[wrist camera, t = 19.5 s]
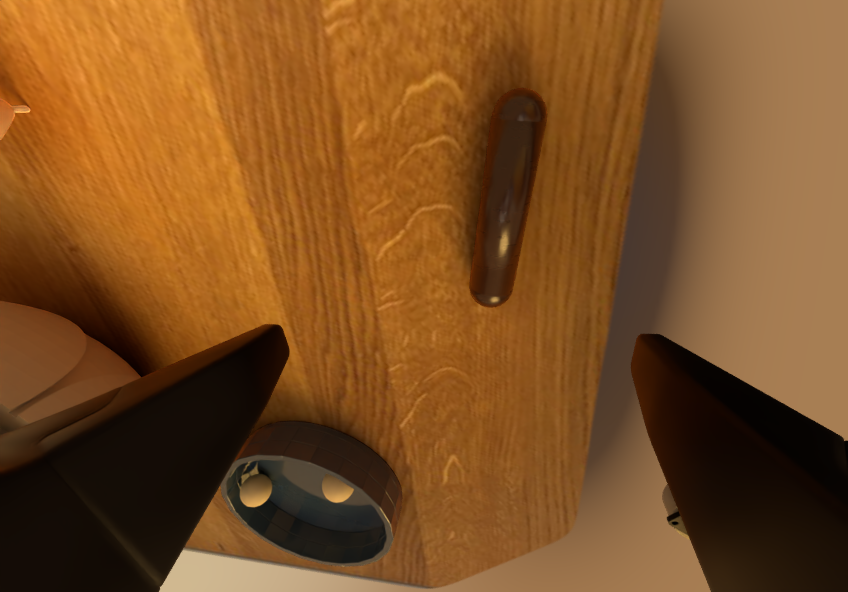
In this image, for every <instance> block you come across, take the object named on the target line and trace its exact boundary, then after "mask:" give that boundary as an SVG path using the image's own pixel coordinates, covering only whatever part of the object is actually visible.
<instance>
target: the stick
mask: <svg viewBox="0 0 848 592" xmlns="http://www.w3.org/2000/svg"><path fill="white" fill-rule="evenodd" d="M546 121H547V108H546V105H545V102H544V101H543V99H542V97H541V96H540V95H539V94H538V93H536V92H535V91H533V90H531V89H527V88H517V89H513V90H511V91H509V92H507V93H506V94H504V95H503V96H502V97H501V98H500V99H499V100H498V102H497V103H496V105H495V107H494V109H493V112H492V117H491V124H490V131H489V139H488V146H487V154H486V162H485V169H484V177H483V185H482V192H481V200H480V207H479V215H478V223H477V230H476V238H475V246H474V253H473V261H472V269H471V276H470V285H469V288H470V293H471V295H472V297H473V299H474V300H475V301H476V302H477V303H479V304H480V305H482V306H485V307H491V308H492V307H497V306H500V305H502V304H504V303H505V302H506V301H507V300H508V299H509V297H510V296H511V294H512V290H513V286H514V281H515V276H516V271H517V266H518V261H519V256H520V251H521V246H522V241H523V236H524V231H525V226H526V221H527V216H528V211H529V206H530V201H531V196H532V191H533V186H534V181H535V176H536V171H537V166H538V161H539V156H540V151H541V146H542V141H543V136H544V131H545V126H546Z"/></svg>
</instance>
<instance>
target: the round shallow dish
mask: <svg viewBox="0 0 848 592" xmlns="http://www.w3.org/2000/svg"><path fill="white" fill-rule="evenodd" d="M254 474H264V475H266V476H267V477H268V478H269V479H270V480H271V483H272V491H271V494H270V496H269V498H268V499H267V501H266V502H264V503H263V504H262V505H260V506H257V507H248V506H246V505H245V504H243V502H242V501H241V499H240V489H241V486H242V484H243V483H244V481H245V480H246V479H247V478H248V477H250V476H252V475H254ZM326 474H328V475H331V476H333V477H335V478H337V479H338V480H340V481H342V482H343V483H345V484H346V485H348V486H349V487H351V488H353V489H354V491H353V493H352V494H351V496H350V497H349V498H348V499H346V500H345V501H343V502H338V503H336V502H332V501H330V500H328V499H327V498H326V497H325V495H324V493H323V490H322V483H323V479H324V477H325V475H326ZM221 493H222V496H223V498H224V500H225V502H226V504H227V506H228V508H229V509H230V511H231V512H232V513H233V514H234V515H235V516H236V517H237V519H238V520H239V521H240V522H241V523H242V524H243V525H244V526H245V527H247V528H248V529H249V530H251V531H252V532H253V533H254V534H256V535H257V536H258V537H259V538H261V539H263V540H264V541H266V542H268V543H270V544H271V545H273V546H275V547H277V548H278V549H280V550H282V551H285V552H287V553H290V554H292V555H294V556H297V557H299V558H302V559H306V560H310V561H313V562H317V563H321V564H326V565H334V566H342V567H343V566H344V567H347V566H363V565H366V564H369V563H373V562H376V561H378V560H380V559H381V558H382V557H383V556H384V555H386V554H387V553H388V552H389V551H390V548H391V545H392V542H393V540H394V536H395V532H396V528H397V523H398V520H399V516H400V512H401V507H402V506H401V505H402V491H401V487H400V484H399V481H398V479H397V478H396V476H395V474H394V472H393V471H392V470H391V468H390V467H389V466H388V465H387V464H386V463H385V461H384V460H383V459H382V458H381V457H380V456H378V455H377V454H376V453H375V452H374V451H373V450H371V449H370V448H368V447H367V446H366V445H364V444H363V443H361V442H359V441H358V440H356V439H354V438H352V437H350V436H348V435H346V434H344V433H342V432H339V431H337V430H334V429H332V428H329V427H325V426H322V425H318V424H313V423H308V422H299V421H284V422H276V423H272V424H268V425H266V426H263V427H261V428H259V429H258V430H256V431H255V432H254V433H253V434H252V435H251V436H250V437H249V438H248V439H247V440H246V442H245V443H244V445H243V447H242V449H241V450H240V452H239V454H238V455H237V457H236V459H235V461H234V462H233V464H232V466H231V467H230V469H229V471H228V473H227V474H226V476H225V478H224V479H223V481H222V483H221Z"/></svg>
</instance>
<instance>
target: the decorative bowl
mask: <svg viewBox="0 0 848 592" xmlns="http://www.w3.org/2000/svg"><path fill="white" fill-rule="evenodd" d="M139 378H141V376H140V375H139V374H138V373H137V372H136V371H135V370H134V369H133V368H132V367H131V366H130V365H129V364H128V363H127V362H126V361H125V360H123V359H122V358H121V357H120V356H118V355H117V354H116V353H115V352H113V351H112V350H111V349H109V348H108V347H106V346H105V345H103V344H102V343H100V342H99V341H97V340H95V339H93V338H92V337H90V336H88V335H86V334H84V332H83V331H82V330H81V328H79V327H78V326H77V325H76V324H74V323H73V322H71V321H70V320H68V319H66V318H64V317H62V316H59V315H57V314H54V313H51V312H48V311H45V310H42V309H38V308H34V307H30V306H26V305H21V304H16V303H11V302H5V301H0V435H2V434H4V433H7V432H9V431H12V430H14V429H17V428H20V427H22V426H25V425H27V424H30V423H32V422H35V421H38V420H40V419H43V418H45V417H48V416H50V415H53V414H55V413H58V412H60V411H63V410H65V409H68V408H70V407H73V406H75V405H78V404H80V403H82V402H85V401H87V400H90V399H92V398H94V397H97V396H99V395H102V394H104V393H106V392H109V391H111V390H113V389H116V388H118V387H121V386H122V387H123V386H124V385H125V384H127V383H130V382H132V381H134V380H137V379H139Z"/></svg>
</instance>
